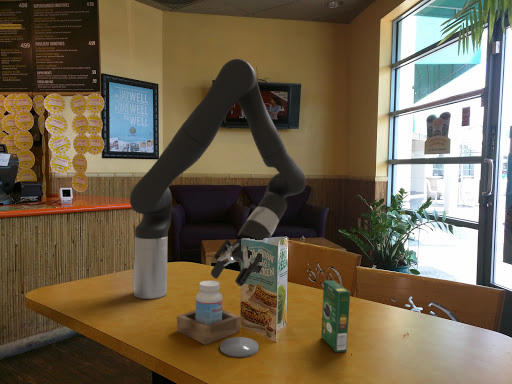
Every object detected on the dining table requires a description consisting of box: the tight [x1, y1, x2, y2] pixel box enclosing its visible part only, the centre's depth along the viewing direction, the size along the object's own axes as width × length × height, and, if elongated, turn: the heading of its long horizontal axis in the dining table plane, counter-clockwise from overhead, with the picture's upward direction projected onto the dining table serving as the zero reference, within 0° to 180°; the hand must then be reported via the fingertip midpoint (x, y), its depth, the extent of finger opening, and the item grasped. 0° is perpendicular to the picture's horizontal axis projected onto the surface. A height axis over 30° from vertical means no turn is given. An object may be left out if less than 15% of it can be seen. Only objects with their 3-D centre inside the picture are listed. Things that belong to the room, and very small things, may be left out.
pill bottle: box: [195, 280, 223, 326], centre depth 89 cm, size 6×6×11 cm
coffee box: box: [320, 280, 351, 353], centre depth 84 cm, size 8×3×13 cm, turn 13°
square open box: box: [176, 309, 241, 346], centre depth 89 cm, size 10×10×4 cm
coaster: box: [219, 336, 259, 358], centre depth 81 cm, size 8×8×1 cm
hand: (225, 280), depth 92 cm, fingers open, 8 cm apart
